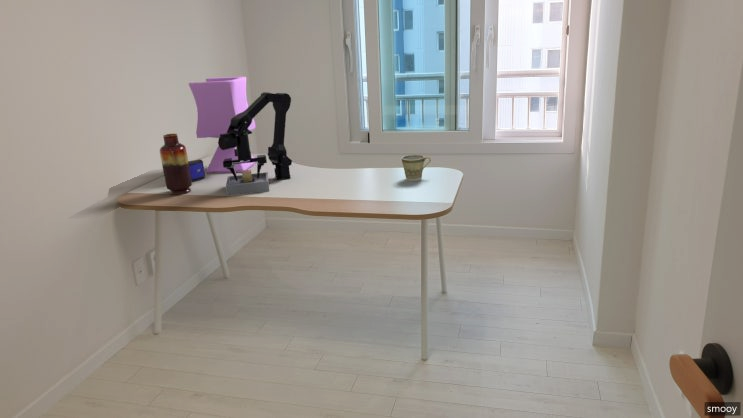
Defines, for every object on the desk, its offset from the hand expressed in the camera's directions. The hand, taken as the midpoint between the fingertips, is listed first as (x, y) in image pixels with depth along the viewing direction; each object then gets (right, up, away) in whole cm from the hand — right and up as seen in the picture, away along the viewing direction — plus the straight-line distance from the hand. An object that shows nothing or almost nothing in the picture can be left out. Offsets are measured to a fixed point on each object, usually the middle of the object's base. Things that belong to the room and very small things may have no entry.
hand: (247, 179), depth 244 cm
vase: (-31, -6, +3) cm, 32 cm away
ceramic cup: (+76, 0, -1) cm, 76 cm away
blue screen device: (-33, 0, +21) cm, 39 cm away
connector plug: (0, -4, +1) cm, 4 cm away
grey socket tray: (0, -4, +1) cm, 4 cm away
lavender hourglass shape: (-17, +8, +40) cm, 44 cm away
